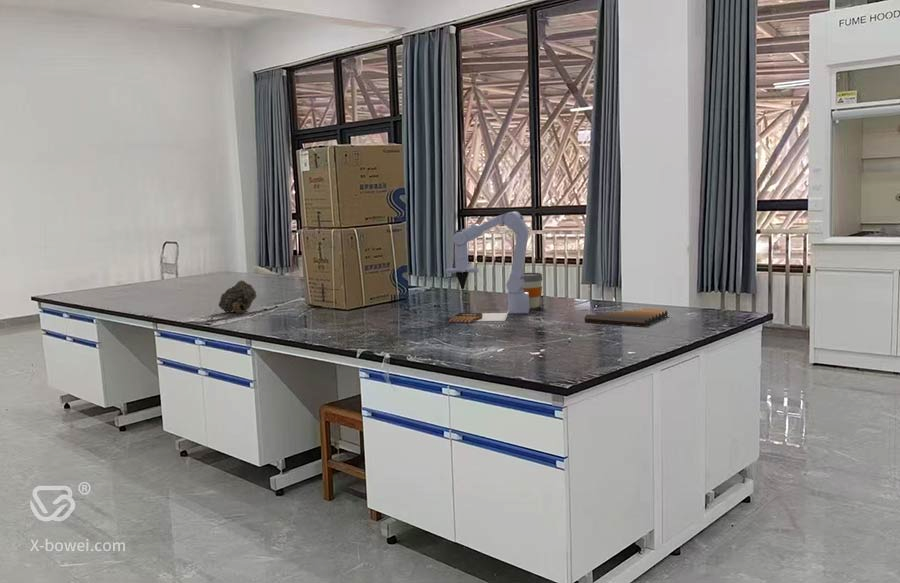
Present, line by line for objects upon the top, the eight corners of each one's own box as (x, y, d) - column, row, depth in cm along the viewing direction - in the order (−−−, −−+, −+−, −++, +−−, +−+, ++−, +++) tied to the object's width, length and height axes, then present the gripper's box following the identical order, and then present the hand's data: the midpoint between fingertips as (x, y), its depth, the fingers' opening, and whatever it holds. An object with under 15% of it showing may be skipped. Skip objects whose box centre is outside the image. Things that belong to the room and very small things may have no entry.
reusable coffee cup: (545, 308, 333) (544, 275, 331) (517, 309, 333) (516, 276, 331) (541, 303, 346) (540, 272, 344) (514, 305, 346) (513, 273, 344)
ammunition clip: (460, 317, 318) (447, 323, 308) (459, 312, 318) (446, 319, 307) (482, 317, 313) (470, 324, 303) (482, 313, 313) (469, 319, 302)
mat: (508, 313, 323) (508, 312, 323) (504, 321, 306) (504, 320, 306) (479, 314, 325) (479, 313, 325) (474, 321, 308) (474, 320, 308)
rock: (236, 275, 368) (245, 272, 355) (258, 294, 373) (267, 292, 360) (211, 303, 360) (220, 301, 348) (234, 322, 365) (243, 321, 353)
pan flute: (584, 323, 296) (644, 328, 282) (584, 315, 296) (644, 319, 281) (610, 313, 316) (667, 317, 301) (610, 305, 316) (667, 309, 301)
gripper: (478, 257, 333) (479, 287, 335) (447, 258, 335) (448, 287, 337) (476, 258, 326) (478, 289, 328) (444, 259, 328) (445, 290, 330)
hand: (462, 288), depth 332 cm, fingers closed
